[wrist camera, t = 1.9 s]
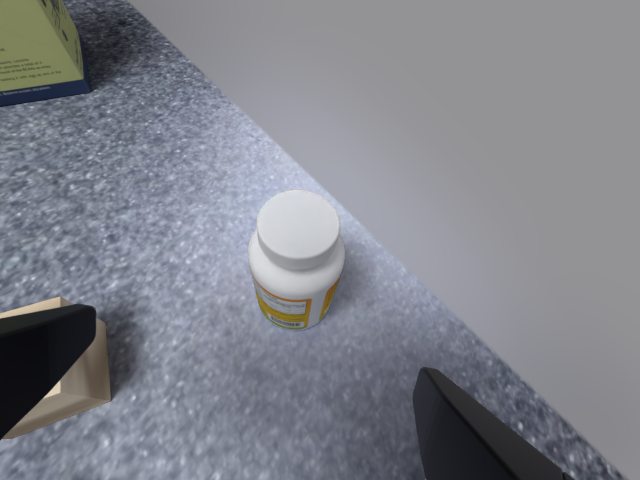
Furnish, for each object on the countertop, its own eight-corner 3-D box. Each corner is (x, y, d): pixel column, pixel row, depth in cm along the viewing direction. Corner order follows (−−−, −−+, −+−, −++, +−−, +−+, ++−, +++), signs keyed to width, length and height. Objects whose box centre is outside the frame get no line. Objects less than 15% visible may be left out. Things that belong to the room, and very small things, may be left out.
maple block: (111, 401, 19) (60, 392, 15) (13, 438, 18) (-76, 441, 13) (106, 323, 21) (60, 296, 17) (18, 351, 20) (-56, 329, 16)
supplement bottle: (310, 252, 25) (321, 165, 17) (344, 311, 23) (377, 244, 15) (246, 280, 23) (223, 198, 15) (276, 346, 21) (269, 292, 13)
